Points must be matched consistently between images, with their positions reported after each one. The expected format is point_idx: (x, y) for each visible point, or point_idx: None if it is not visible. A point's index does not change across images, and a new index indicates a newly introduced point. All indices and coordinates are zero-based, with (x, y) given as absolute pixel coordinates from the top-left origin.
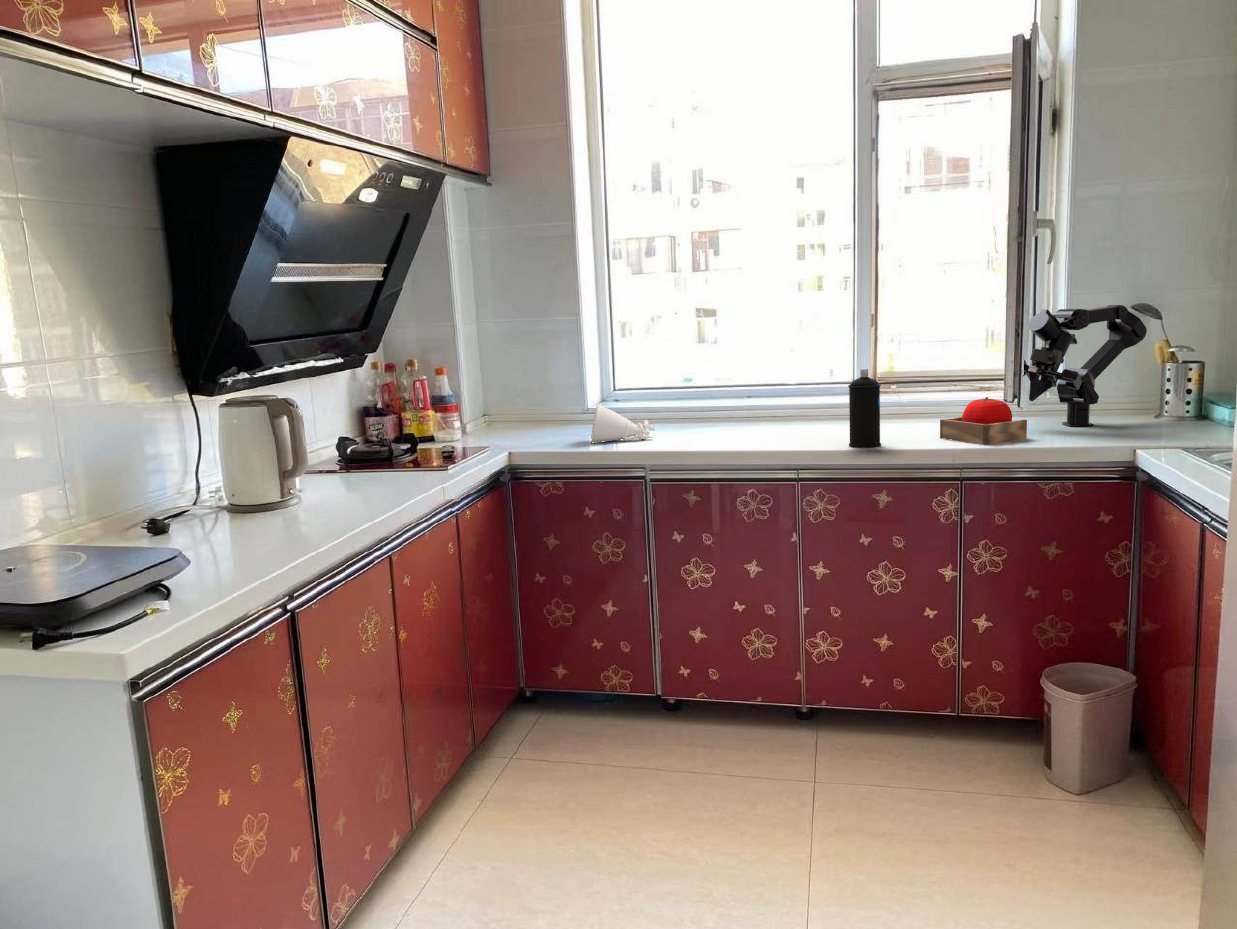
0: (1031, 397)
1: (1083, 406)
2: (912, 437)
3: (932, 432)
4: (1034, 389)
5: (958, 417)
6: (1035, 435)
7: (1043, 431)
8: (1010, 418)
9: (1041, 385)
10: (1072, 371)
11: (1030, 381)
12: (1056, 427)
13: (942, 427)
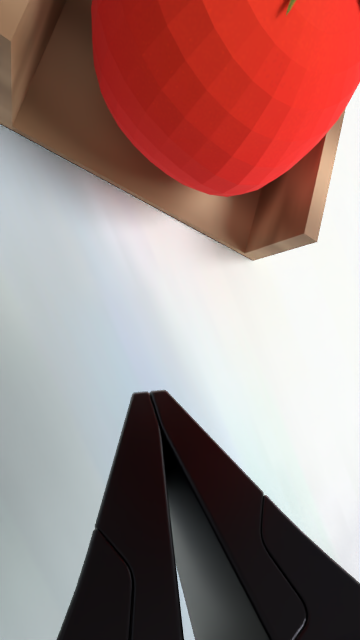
0: (150, 404)
1: None
2: (354, 96)
3: (356, 218)
4: (193, 526)
5: (341, 114)
6: (4, 272)
7: (32, 440)
8: (94, 1)
9: (90, 624)
10: None
11: (357, 590)
12: (33, 630)
13: None
